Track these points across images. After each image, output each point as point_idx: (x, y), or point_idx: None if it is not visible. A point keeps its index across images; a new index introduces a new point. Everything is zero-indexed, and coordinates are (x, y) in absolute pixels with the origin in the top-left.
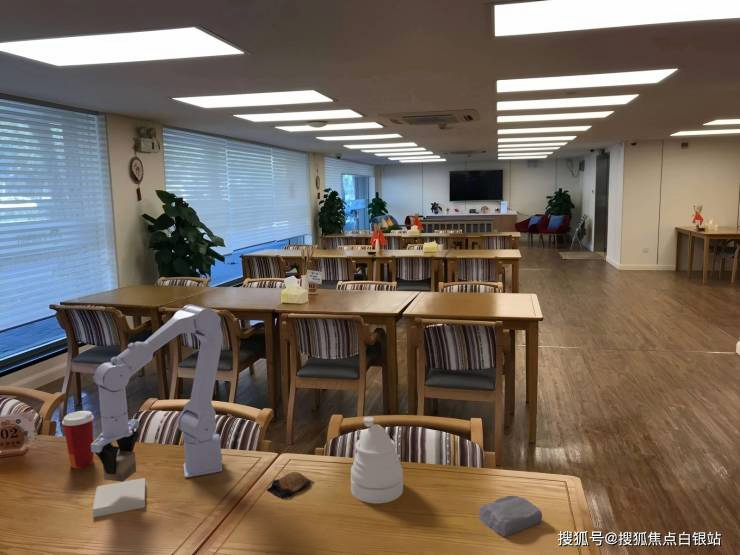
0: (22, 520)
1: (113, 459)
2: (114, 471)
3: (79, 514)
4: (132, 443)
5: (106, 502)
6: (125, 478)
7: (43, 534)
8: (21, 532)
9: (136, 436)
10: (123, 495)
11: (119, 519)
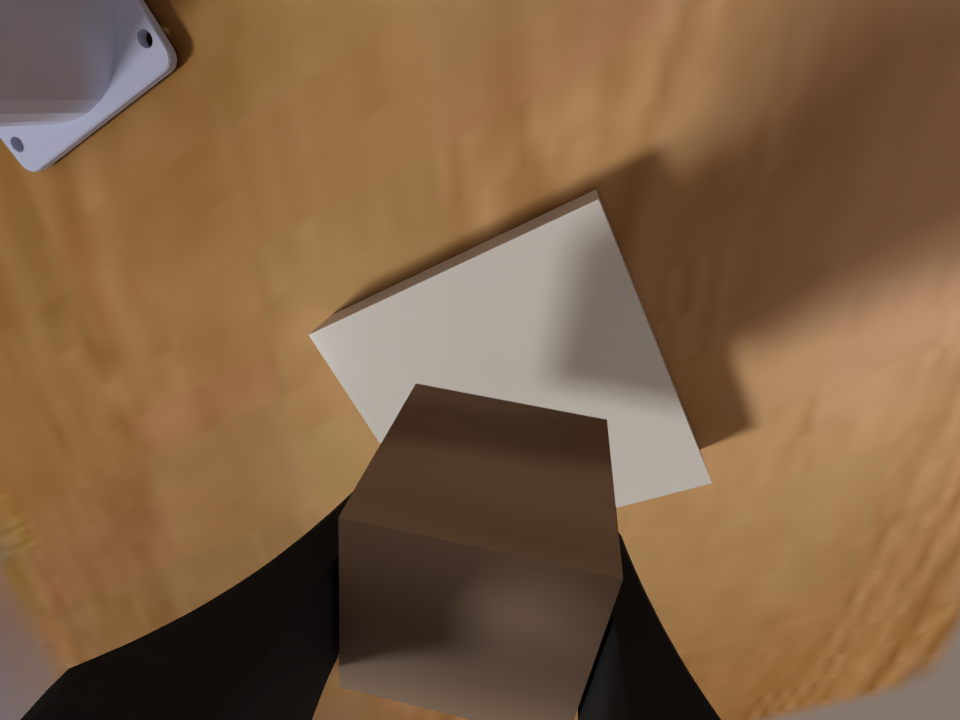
0: None
1: (694, 695)
2: (622, 549)
3: (658, 522)
4: (259, 639)
5: (632, 439)
6: (567, 418)
7: (836, 597)
8: (795, 673)
9: (128, 702)
10: (543, 374)
11: (742, 295)
